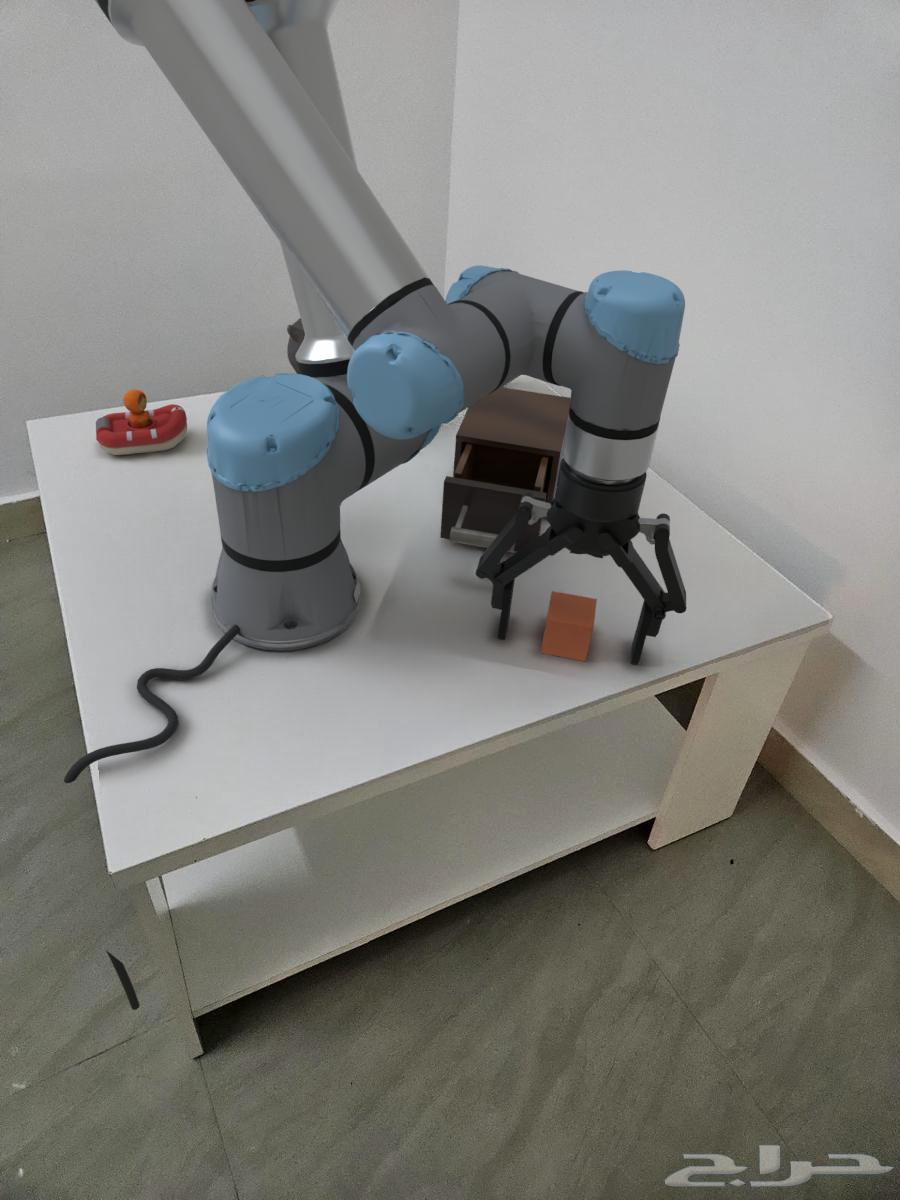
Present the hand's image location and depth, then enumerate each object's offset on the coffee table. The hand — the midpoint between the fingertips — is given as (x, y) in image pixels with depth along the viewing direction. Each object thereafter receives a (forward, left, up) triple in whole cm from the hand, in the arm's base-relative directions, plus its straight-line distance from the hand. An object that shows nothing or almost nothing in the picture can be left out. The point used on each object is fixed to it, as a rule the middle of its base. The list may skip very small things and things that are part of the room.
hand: (568, 643), depth 84 cm
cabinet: (+24, +20, 0) cm, 31 cm away
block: (0, 0, 0) cm, 0 cm away
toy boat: (+2, +64, 0) cm, 64 cm away
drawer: (+12, +16, +1) cm, 20 cm away
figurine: (+23, +47, 0) cm, 53 cm away
